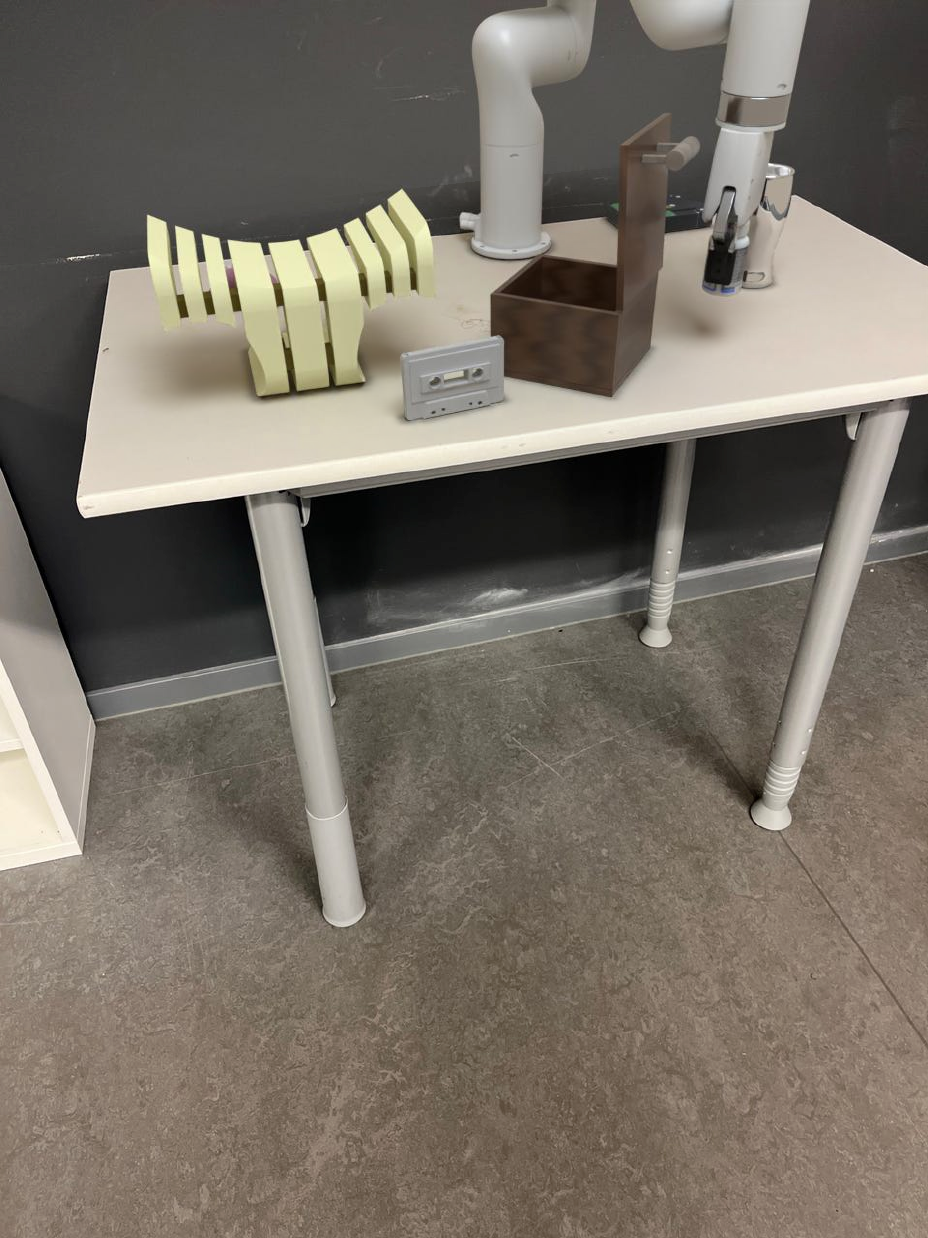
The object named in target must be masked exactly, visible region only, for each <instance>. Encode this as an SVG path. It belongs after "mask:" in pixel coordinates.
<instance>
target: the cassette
mask: <svg viewBox="0 0 928 1238" xmlns="http://www.w3.org/2000/svg"><path fill="white" fill-rule="evenodd" d="M400 370H401V383H402V396H403V397H402V398H403V410H404V417H405V418H406V419H407V420H408V421H414V420H415V421H416V420H419V419H423V420H426V419H431V418H434V417H435V418H436V417H440V416H443V415H445V416H446V415H449V414H453V413H458V412H463V411H469V410H473V409H478V408H482V407H486V406H491V404H495V403H500V402H502V401H504V398H505V397H504V396H505V395H504V394H505V393H504V391H505V389H504V387H505V376H504V340H503V338H502V337H501V336H499V335H498V336H493V337H491V336H488V337H483V338H476V339H471V340H467V341H462V342H457V343H450V344H446V345H440V346H435V347H430V348H425V349H419V350H414V351H409V352H403V353H402V354H401V355H400ZM456 372H463V375H462V376H461V375H460V376H457V377H451V378H446V379H445V375H447V374H452V373H456Z"/></svg>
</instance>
